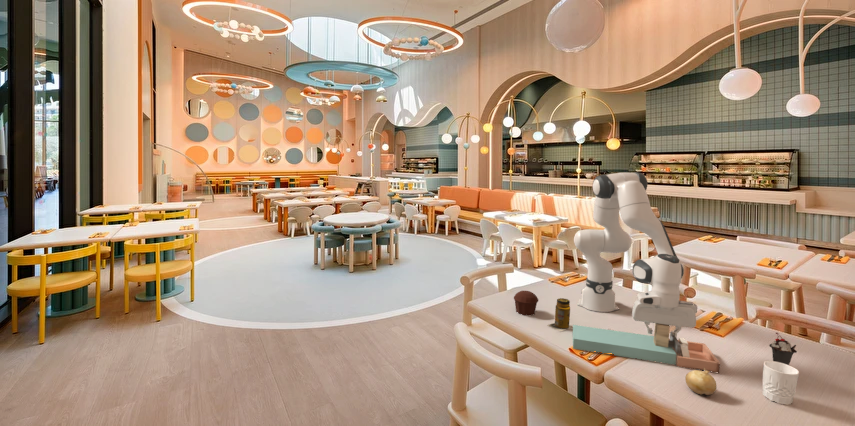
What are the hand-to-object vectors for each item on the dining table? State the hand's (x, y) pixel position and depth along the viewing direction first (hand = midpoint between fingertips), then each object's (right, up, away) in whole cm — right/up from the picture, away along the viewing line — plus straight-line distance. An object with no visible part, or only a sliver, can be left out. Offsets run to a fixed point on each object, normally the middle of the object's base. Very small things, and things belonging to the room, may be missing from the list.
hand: (661, 334), depth 144 cm
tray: (+9, -8, -3) cm, 13 cm away
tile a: (+7, -5, 0) cm, 8 cm away
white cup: (+19, -11, -26) cm, 34 cm away
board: (-13, -7, +5) cm, 15 cm away
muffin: (-40, -2, +42) cm, 58 cm away
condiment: (-29, -5, +25) cm, 39 cm away
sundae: (+31, -10, -14) cm, 35 cm away
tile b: (+4, -5, -5) cm, 8 cm away
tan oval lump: (-2, -11, -23) cm, 25 cm away
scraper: (+1, -4, 0) cm, 4 cm away
